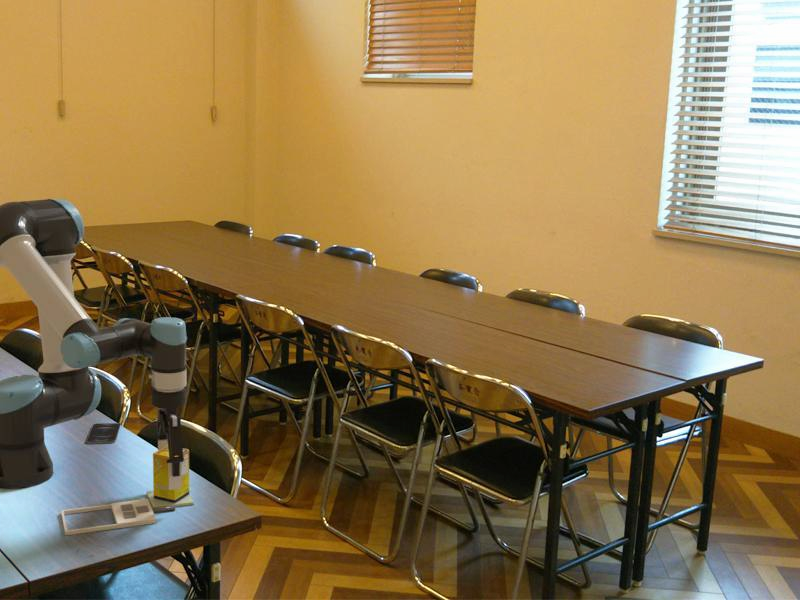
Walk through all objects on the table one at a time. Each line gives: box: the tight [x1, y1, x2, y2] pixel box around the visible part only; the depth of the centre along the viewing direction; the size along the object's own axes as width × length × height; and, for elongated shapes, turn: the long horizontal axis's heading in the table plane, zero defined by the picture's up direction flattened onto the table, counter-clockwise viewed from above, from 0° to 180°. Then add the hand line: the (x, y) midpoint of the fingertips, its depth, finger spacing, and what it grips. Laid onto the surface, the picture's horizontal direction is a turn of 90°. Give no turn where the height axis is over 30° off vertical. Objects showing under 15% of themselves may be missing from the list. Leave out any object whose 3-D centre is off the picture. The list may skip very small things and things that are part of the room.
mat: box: [146, 490, 195, 509], centre depth 217 cm, size 9×9×1 cm
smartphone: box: [86, 422, 122, 445], centre depth 256 cm, size 8×1×15 cm
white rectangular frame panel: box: [60, 498, 176, 536], centre depth 207 cm, size 11×24×1 cm, turn 113°
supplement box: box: [152, 446, 190, 503], centre depth 216 cm, size 6×6×11 cm
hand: (169, 477), depth 216 cm, fingers open, 13 cm apart
